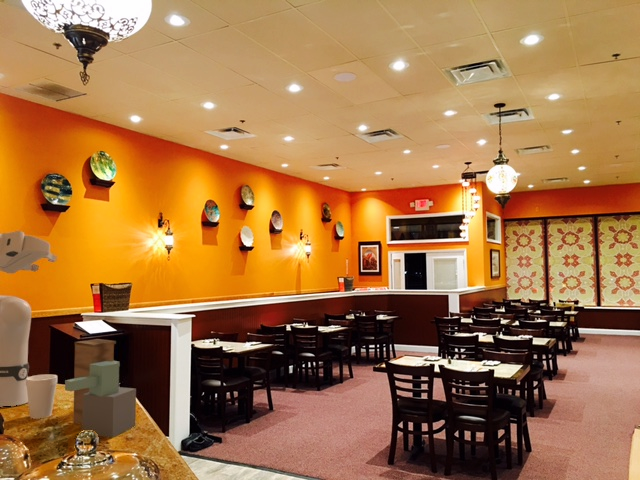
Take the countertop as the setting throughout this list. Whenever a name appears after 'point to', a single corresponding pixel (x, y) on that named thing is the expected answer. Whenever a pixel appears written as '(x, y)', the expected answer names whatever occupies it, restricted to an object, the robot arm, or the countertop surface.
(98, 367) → the green mallet
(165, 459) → the countertop surface
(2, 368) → the robot arm
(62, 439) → the countertop surface
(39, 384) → the foam cup
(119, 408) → the riser
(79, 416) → the stand
